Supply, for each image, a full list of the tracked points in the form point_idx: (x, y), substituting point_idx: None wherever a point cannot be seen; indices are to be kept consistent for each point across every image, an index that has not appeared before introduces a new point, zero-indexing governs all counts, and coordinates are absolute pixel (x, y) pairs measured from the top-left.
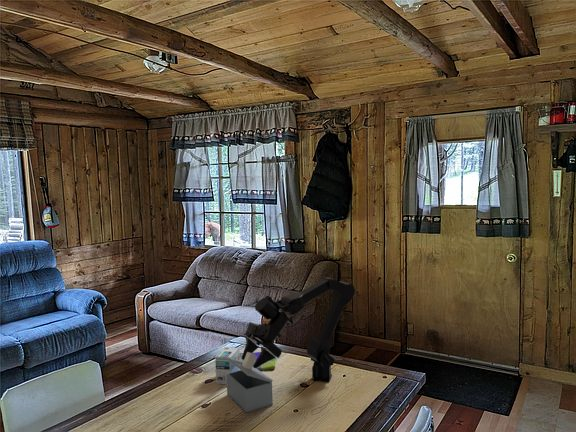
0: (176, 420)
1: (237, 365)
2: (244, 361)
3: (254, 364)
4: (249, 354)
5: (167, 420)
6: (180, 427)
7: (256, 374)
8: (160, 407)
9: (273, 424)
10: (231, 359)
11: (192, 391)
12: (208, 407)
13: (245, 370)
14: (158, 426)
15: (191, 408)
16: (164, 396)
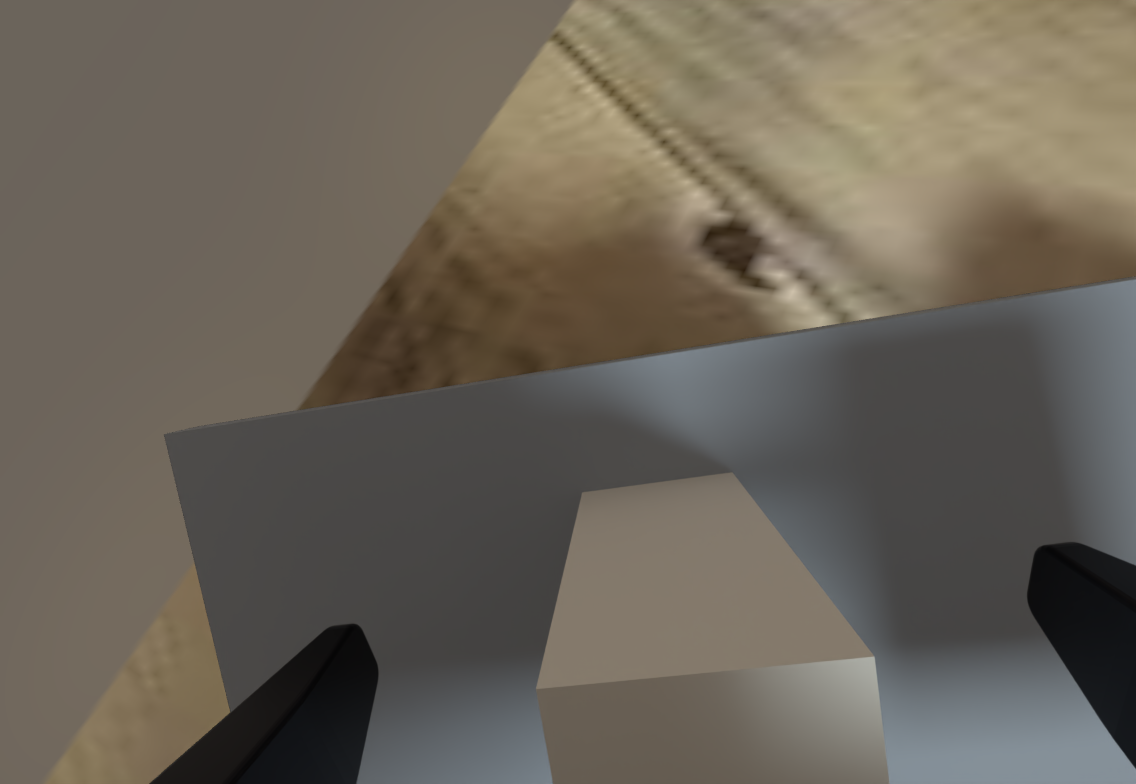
0: (600, 80)
1: (668, 352)
2: (702, 513)
3: (297, 666)
4: (577, 657)
5: (625, 41)
6: (509, 97)
7: (304, 646)
8: (821, 4)
9: (186, 639)
10: (1081, 303)
11: (1045, 186)
12: (686, 261)
13: (320, 418)
14: (580, 7)
15: (723, 160)
16: (1001, 16)
